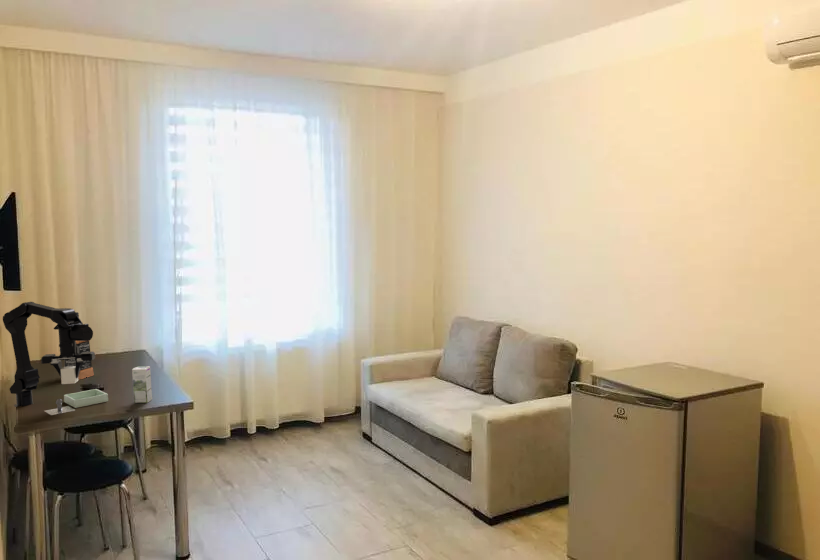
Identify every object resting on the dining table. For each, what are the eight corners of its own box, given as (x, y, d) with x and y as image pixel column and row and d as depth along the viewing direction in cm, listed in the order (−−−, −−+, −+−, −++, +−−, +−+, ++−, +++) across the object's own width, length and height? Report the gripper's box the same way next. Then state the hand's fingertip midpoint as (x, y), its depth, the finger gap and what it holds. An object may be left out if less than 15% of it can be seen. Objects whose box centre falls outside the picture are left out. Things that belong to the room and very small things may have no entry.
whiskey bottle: (62, 378, 324) (57, 313, 321) (78, 374, 334) (73, 310, 331) (79, 379, 321) (75, 314, 318) (95, 375, 331) (90, 311, 328)
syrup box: (152, 399, 281) (150, 365, 280) (147, 403, 276) (145, 368, 274) (138, 399, 281) (136, 366, 280) (133, 403, 275) (131, 369, 274)
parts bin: (64, 404, 277) (63, 394, 277) (97, 398, 286) (96, 388, 286) (75, 410, 268) (74, 400, 267) (108, 403, 277) (107, 393, 276)
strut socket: (61, 384, 266) (60, 369, 265) (65, 381, 271) (64, 366, 270) (75, 383, 267) (74, 368, 266) (78, 380, 272) (77, 365, 271)
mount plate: (44, 413, 264) (43, 399, 264) (68, 408, 271) (67, 394, 270) (51, 417, 258) (50, 403, 257) (76, 412, 264) (75, 398, 264)
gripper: (97, 335, 277) (99, 372, 279) (47, 338, 273) (50, 375, 274) (90, 340, 266) (93, 378, 268) (39, 343, 262) (42, 382, 264)
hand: (69, 378), depth 269 cm, fingers closed on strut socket, 5 cm apart
